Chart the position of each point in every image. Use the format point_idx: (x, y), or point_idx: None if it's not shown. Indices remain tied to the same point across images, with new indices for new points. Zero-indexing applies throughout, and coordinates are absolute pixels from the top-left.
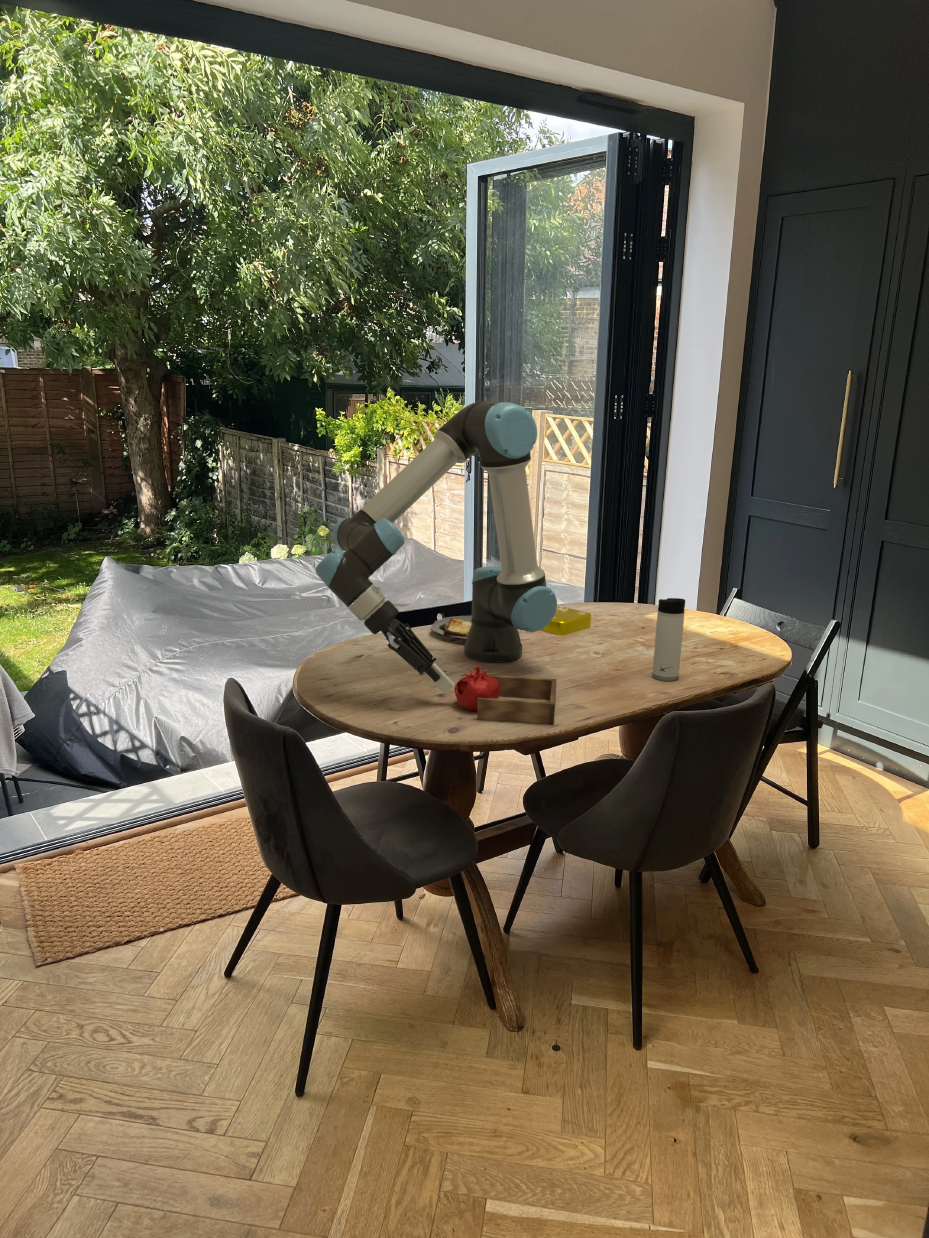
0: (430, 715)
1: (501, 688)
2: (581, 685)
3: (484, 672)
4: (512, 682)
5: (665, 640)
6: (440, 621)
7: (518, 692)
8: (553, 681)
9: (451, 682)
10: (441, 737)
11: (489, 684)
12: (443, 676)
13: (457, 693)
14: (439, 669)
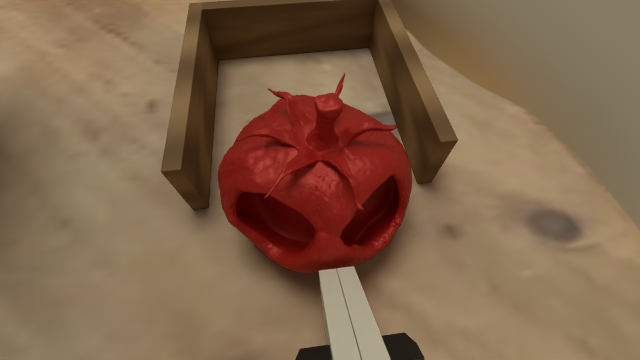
0: (486, 349)
1: (202, 144)
2: (111, 25)
3: (292, 112)
4: (197, 100)
5: None
6: None
7: (209, 109)
8: (210, 6)
9: (340, 278)
10: (634, 244)
11: (351, 107)
12: (373, 316)
13: (376, 246)
14: (356, 357)
